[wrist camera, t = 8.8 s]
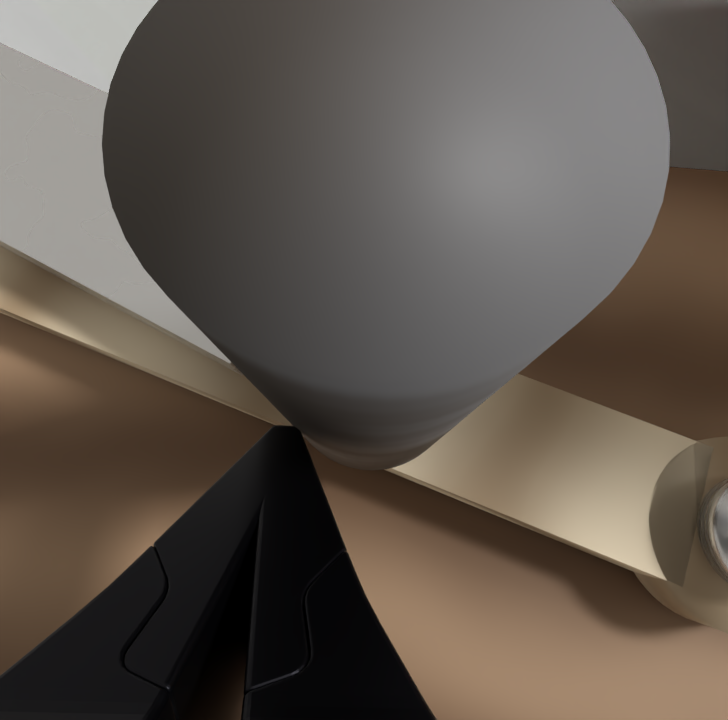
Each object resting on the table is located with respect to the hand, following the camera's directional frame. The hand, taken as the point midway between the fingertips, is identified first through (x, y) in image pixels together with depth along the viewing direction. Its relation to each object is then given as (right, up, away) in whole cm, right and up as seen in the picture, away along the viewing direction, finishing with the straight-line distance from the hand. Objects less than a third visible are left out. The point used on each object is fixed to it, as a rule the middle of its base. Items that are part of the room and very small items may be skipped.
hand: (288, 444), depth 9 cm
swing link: (+2, 0, +6) cm, 6 cm away
